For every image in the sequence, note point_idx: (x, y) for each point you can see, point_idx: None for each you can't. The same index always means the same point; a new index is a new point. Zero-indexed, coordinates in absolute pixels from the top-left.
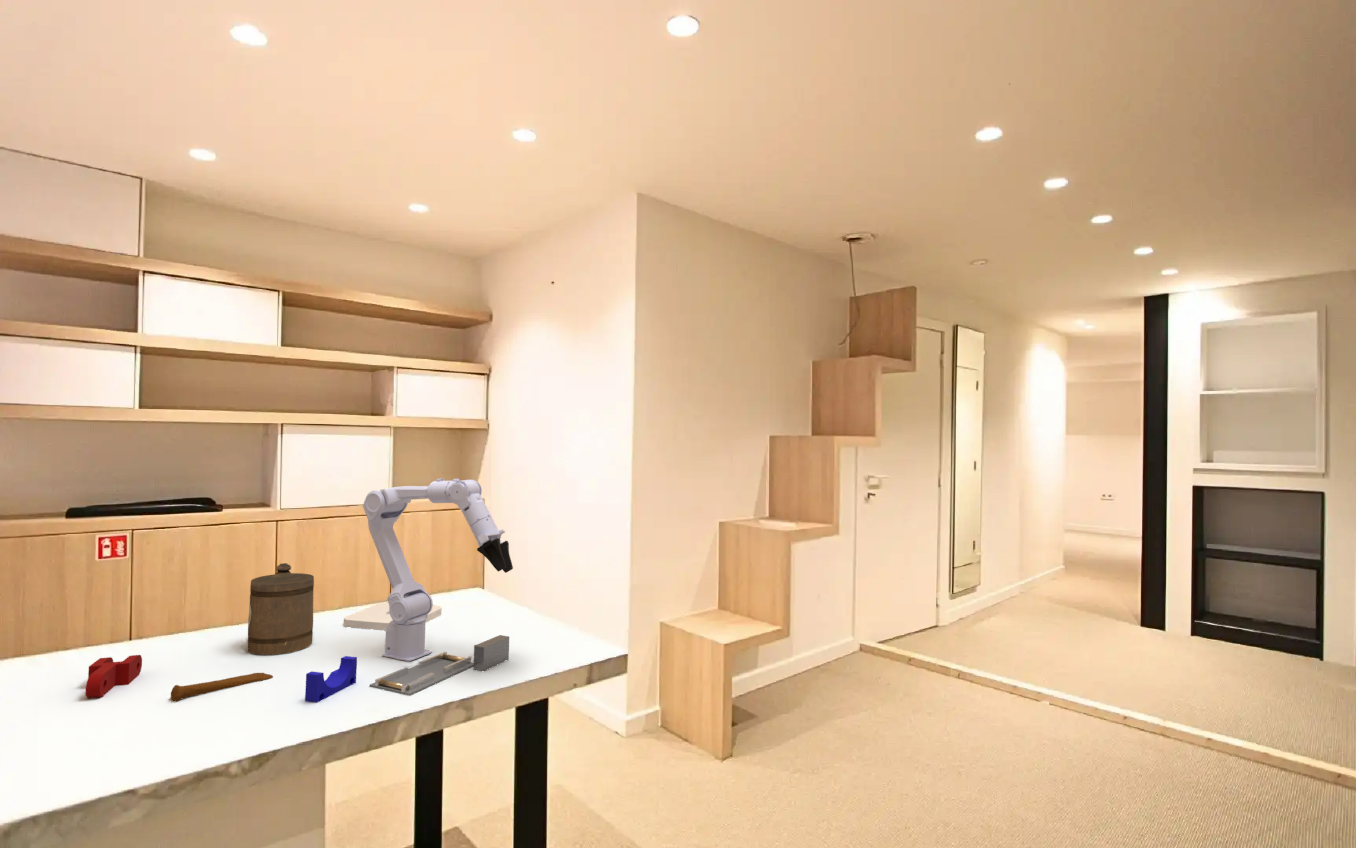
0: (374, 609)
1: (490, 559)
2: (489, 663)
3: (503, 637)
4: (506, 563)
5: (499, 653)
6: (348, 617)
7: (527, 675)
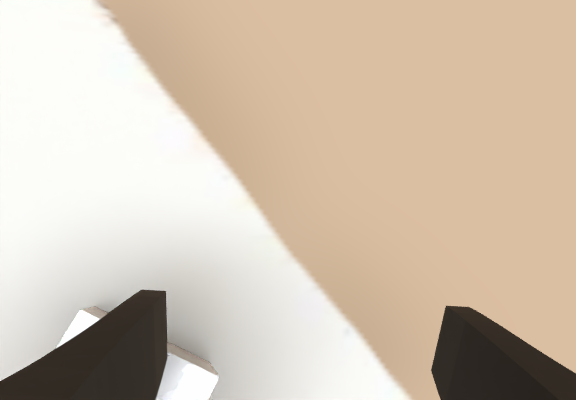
0: None
1: None
2: (185, 352)
3: None
4: (138, 371)
5: None
6: None
7: (242, 228)
